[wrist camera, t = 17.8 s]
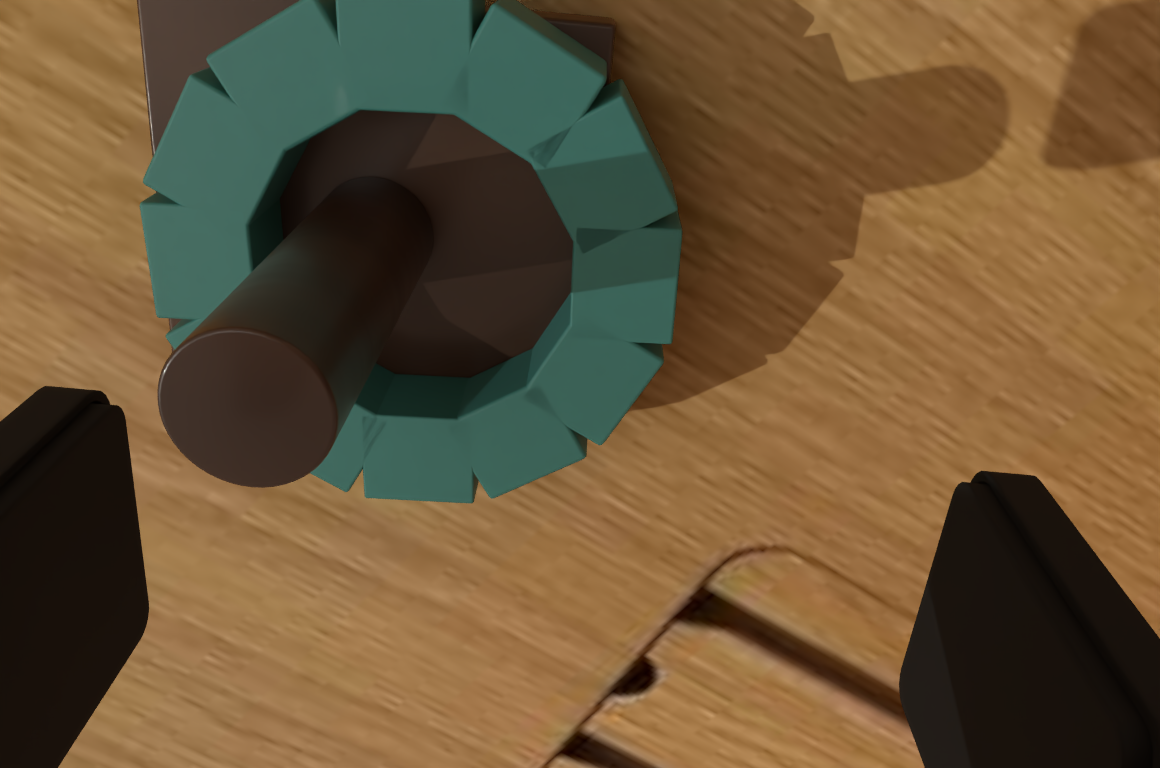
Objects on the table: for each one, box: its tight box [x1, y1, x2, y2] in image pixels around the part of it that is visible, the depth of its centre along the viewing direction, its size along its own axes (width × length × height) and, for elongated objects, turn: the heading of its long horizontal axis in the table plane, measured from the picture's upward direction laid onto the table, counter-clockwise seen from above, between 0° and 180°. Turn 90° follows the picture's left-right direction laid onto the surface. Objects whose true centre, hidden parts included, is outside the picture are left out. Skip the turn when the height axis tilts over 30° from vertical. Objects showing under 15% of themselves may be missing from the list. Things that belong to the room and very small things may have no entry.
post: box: [137, 0, 616, 487], centre depth 17 cm, size 9×9×9 cm
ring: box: [140, 0, 683, 503], centre depth 19 cm, size 10×10×2 cm
